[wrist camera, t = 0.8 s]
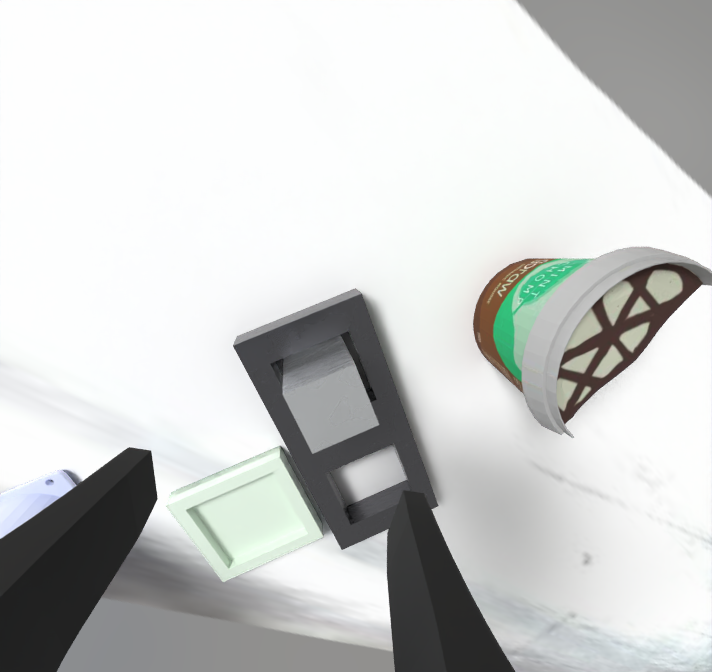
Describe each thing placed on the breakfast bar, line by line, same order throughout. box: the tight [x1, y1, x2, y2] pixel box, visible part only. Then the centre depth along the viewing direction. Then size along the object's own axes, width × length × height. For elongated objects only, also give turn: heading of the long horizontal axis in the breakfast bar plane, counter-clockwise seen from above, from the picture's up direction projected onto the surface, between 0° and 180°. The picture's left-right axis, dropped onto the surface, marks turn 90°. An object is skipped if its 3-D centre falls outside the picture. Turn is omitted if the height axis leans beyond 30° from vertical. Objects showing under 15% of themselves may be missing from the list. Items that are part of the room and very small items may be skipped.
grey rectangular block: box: [283, 335, 379, 454], centre depth 24 cm, size 4×4×6 cm
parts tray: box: [166, 446, 324, 582], centre depth 28 cm, size 9×9×1 cm
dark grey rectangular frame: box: [233, 289, 438, 550], centre depth 27 cm, size 9×20×2 cm, turn 20°
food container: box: [473, 247, 712, 438], centre depth 23 cm, size 12×6×10 cm, turn 139°
